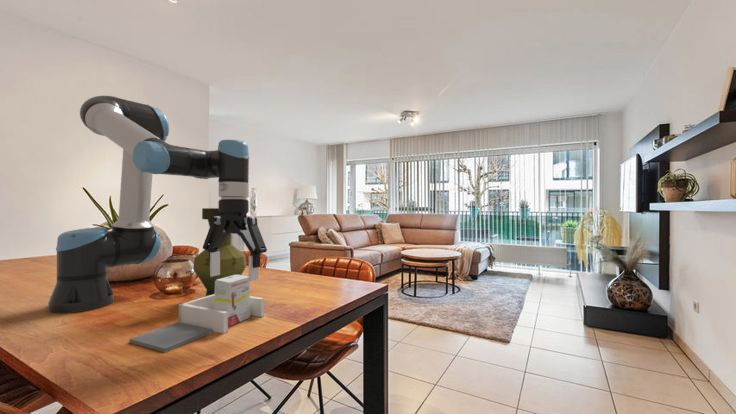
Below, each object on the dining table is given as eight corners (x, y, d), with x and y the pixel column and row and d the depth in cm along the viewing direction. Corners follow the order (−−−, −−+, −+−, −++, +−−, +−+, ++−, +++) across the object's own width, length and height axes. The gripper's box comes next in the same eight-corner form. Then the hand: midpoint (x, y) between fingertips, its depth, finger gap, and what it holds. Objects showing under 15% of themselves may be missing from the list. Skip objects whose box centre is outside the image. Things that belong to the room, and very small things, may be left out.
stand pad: (129, 342, 75) (129, 338, 75) (178, 325, 86) (178, 322, 86) (165, 352, 71) (165, 348, 71) (212, 332, 82) (212, 329, 82)
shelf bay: (178, 323, 88) (178, 304, 88) (222, 308, 101) (222, 291, 101) (223, 333, 81) (223, 313, 81) (264, 315, 94) (264, 298, 94)
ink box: (228, 328, 85) (228, 282, 85) (212, 325, 86) (213, 280, 86) (250, 317, 93) (251, 275, 93) (236, 315, 95) (236, 274, 94)
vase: (229, 290, 122) (230, 208, 121) (256, 297, 112) (257, 208, 112) (183, 300, 108) (183, 208, 108) (209, 310, 99) (210, 209, 99)
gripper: (188, 198, 91) (188, 276, 91) (260, 197, 81) (260, 285, 81) (211, 199, 98) (211, 271, 98) (280, 198, 88) (280, 278, 88)
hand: (233, 277), depth 89 cm, fingers open, 13 cm apart
